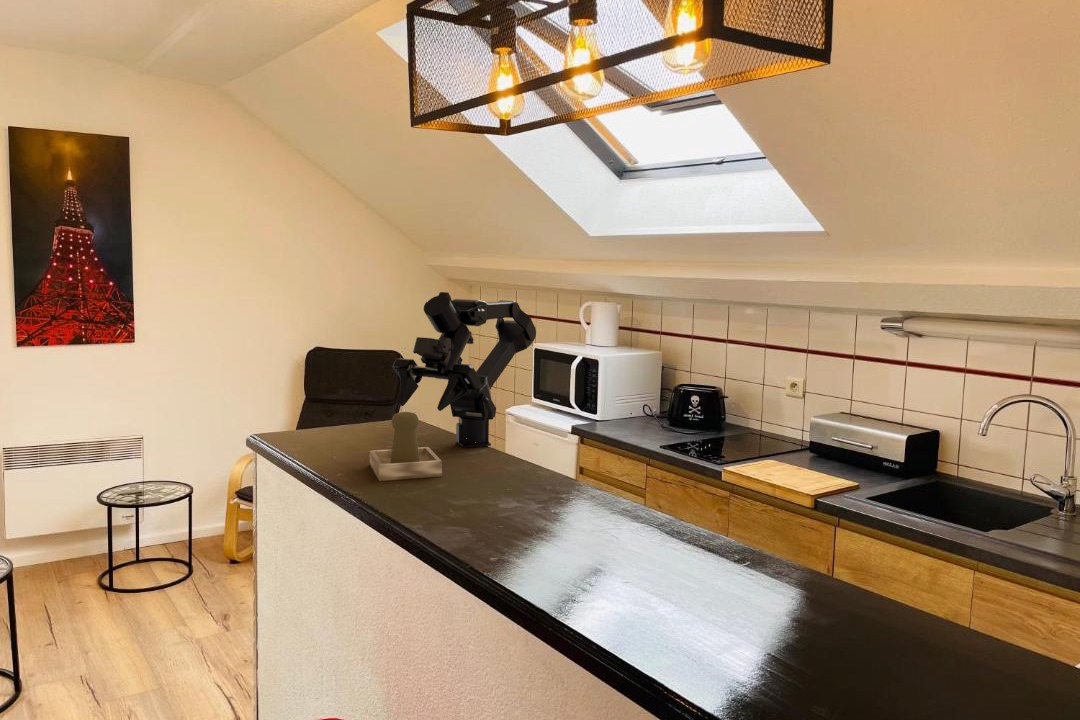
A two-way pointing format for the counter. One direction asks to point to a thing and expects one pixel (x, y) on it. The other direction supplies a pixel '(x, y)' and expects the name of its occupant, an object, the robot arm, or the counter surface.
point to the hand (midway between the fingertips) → (419, 407)
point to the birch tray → (405, 465)
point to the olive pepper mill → (405, 438)
